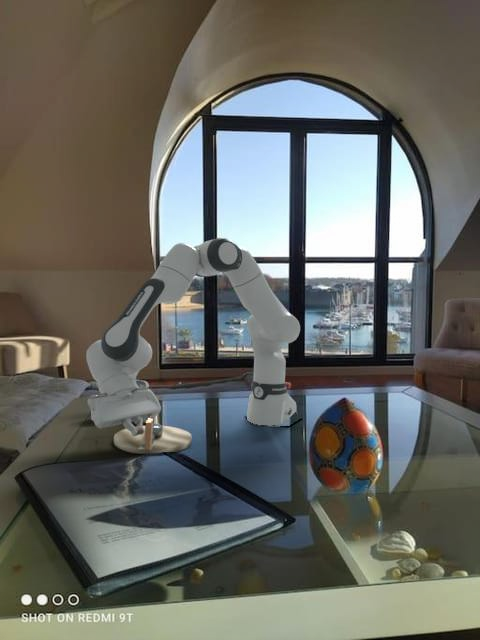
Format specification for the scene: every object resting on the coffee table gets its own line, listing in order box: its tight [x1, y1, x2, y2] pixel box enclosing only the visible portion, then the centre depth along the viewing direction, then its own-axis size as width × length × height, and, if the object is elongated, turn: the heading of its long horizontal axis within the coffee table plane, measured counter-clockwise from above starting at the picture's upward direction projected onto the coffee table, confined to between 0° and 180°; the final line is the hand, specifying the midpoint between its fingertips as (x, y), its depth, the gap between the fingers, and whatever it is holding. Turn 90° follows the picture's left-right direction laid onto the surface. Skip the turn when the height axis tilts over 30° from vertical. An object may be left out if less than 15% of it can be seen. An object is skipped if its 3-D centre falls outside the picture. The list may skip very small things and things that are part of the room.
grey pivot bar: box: [144, 418, 164, 449], centre depth 128 cm, size 21×5×7 cm, turn 3°
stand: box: [113, 425, 193, 455], centre depth 130 cm, size 22×22×2 cm
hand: (139, 434), depth 120 cm, fingers closed
